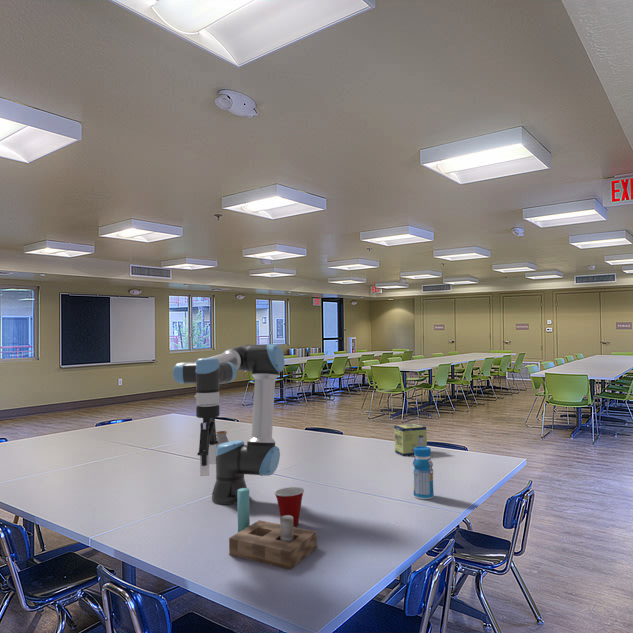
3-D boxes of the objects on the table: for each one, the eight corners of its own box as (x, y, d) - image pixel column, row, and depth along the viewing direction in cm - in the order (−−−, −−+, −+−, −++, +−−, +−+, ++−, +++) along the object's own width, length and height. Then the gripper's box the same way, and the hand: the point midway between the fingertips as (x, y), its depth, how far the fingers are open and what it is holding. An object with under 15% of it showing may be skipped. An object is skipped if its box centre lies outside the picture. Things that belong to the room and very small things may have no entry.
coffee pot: (235, 453, 277) (235, 427, 278) (220, 457, 268) (220, 430, 269) (212, 449, 291) (212, 424, 291) (197, 452, 282) (196, 427, 282)
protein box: (394, 452, 274) (393, 425, 275) (418, 450, 278) (417, 423, 279) (403, 456, 264) (402, 428, 265) (427, 454, 268) (426, 426, 269)
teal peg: (242, 531, 163) (242, 487, 164) (252, 533, 161) (251, 488, 162) (235, 536, 159) (235, 490, 160) (245, 538, 158) (244, 492, 158)
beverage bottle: (419, 501, 191) (417, 450, 192) (409, 494, 199) (408, 446, 200) (438, 498, 193) (436, 449, 194) (427, 492, 201) (426, 444, 202)
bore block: (259, 535, 160) (259, 502, 160) (316, 547, 149) (316, 512, 150) (229, 554, 146) (229, 518, 146) (290, 569, 135) (289, 530, 136)
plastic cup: (292, 516, 177) (292, 483, 177) (310, 524, 169) (310, 490, 169) (268, 523, 170) (268, 489, 171) (286, 532, 162) (285, 496, 162)
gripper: (203, 400, 169) (203, 460, 168) (188, 410, 144) (188, 481, 144) (224, 399, 170) (225, 459, 169) (213, 410, 145) (213, 480, 144)
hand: (208, 469), depth 156 cm, fingers open, 13 cm apart
